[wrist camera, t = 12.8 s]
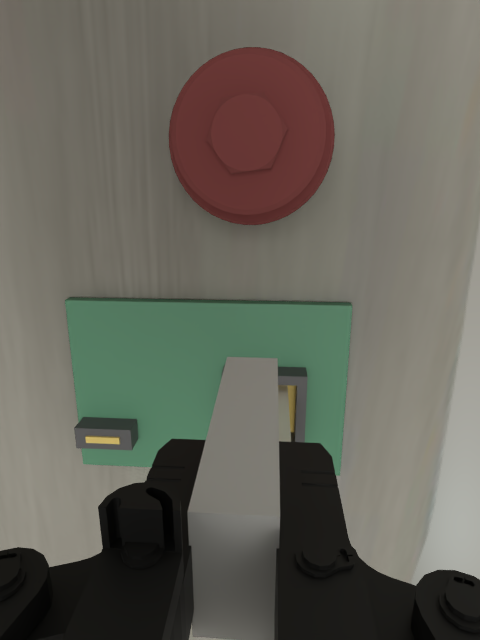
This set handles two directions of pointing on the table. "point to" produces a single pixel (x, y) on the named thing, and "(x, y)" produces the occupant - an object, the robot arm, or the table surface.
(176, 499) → the robot arm
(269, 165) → the mechanical component
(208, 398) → the board
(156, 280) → the table surface
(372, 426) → the table surface
